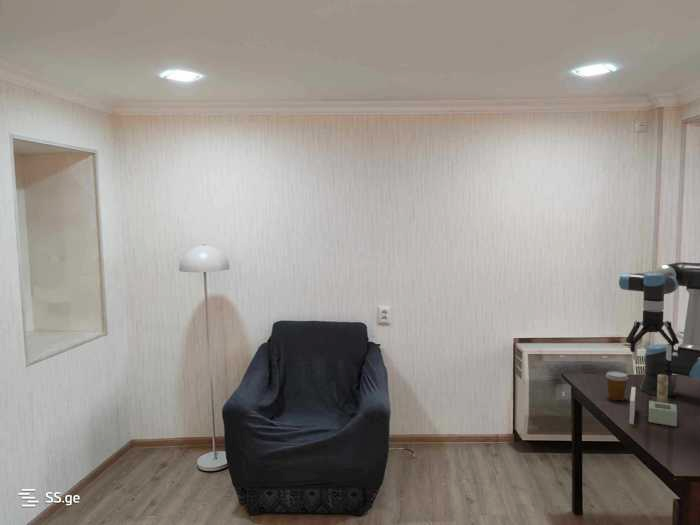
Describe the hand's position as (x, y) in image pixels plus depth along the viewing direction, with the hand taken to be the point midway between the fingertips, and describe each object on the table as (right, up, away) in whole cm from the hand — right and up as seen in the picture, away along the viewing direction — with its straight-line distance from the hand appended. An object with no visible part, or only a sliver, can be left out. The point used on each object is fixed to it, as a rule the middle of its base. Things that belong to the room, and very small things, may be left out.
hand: (651, 359), depth 222 cm
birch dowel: (+11, -25, +11) cm, 29 cm away
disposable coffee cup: (-1, -24, +27) cm, 36 cm away
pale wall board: (-5, -25, +5) cm, 26 cm away
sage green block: (+4, -26, 0) cm, 26 cm away
